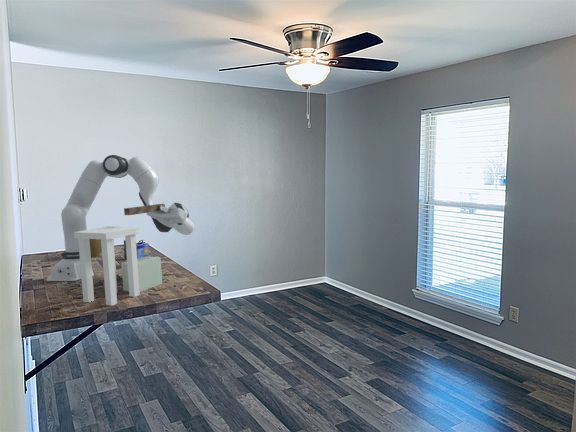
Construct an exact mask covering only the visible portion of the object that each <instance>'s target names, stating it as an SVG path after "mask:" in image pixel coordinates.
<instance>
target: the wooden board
mask: <svg viewBox="0 0 576 432" xmlns="http://www.w3.org/2000/svg"><path fill="white" fill-rule="evenodd" d="M159 206H163V207H166V204H165V203H156V204H154V205H147V206H144V205H141V206H134V207H125V208H123V214H124V216H132V215H133V216H134V215H140V214H147V213H148V212H155V211H161V210H159V209H158V207H159Z"/></svg>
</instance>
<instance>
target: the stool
mask: <svg viewBox="0 0 576 432" xmlns="http://www.w3.org/2000/svg"><path fill="white" fill-rule="evenodd" d="M139 233H140V232H139V227H138V226H137V227H135V226H132V227H131V226H102V227H96V228H91V229H87V230H84V231H78V232H74V238H78V243H79V255H80V267H81V279H80V280H81V289H82V299H83V300H82V302H83V303H87V302H89V303H91V301H92V302H95V294H94V293H95V292H94V282H93V281H94V278H93V276H92V270H93V267H92V266H93V265H92V257H91V253H90V241H89V239H101V246H102V251H101V255H102V269H103V279H104V280H103V281H104V282H103V283H104V293H105V294H104V295H105V297H104V298H105V305H106V306H111V307H112V306H114V305H117V304H118V295H117V293H118V281H117V279H118V278H117V268H116V265H117V264H116V254H115V252H116V251H115V241H114V239H117V238H121V237H125V241H126V255H127V260H126V262H127V269H128V283H129V291H128V294H129V297H132V298H133V297H134V298H135V297H136V298H137V297H139V296H140V293H141V292H139V278H138V264H137V250H136V244H137V239H136V238H137V237H136V235H137V234H139Z"/></svg>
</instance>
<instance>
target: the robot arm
mask: <svg viewBox="0 0 576 432" xmlns="http://www.w3.org/2000/svg"><path fill="white" fill-rule="evenodd" d="M127 175H128V176H130V177H131V178H132V179H133V180H134V182H136V183H137V184H136V185H137V186H138V189H139V192H138V196H139V198H140V201H141V202H142V204H143V206H147V205H155V204H154V202H153V195H154V193H155V192H156V189H158V185H159V176H158V174H157V173H156V172H155V170H154V169H153V168H152V167H151V165H150V164H148V163H147V161H145V160H144V159H143V158H142V157H140V156H133V157H131V158H130V159H127V158H125V157H122V156H121V155H116V154H111V155H107V156H105V158H104V159H103V160H102V161H100V160H92V161H90V162H88V164H87V165H86V167H85V168H84V169H83V171H82V173H81V174H80V176H79V178H78V180H77V182H76V184H75V186H74V187H73V190H72V192H71V195H70V197H69V199H68V200H67V203H66V205H65V207H63V208H62V210H61V212H60V213H61V214H60V215H61V216H60V217H61V223H62V225H61V226H62V230H63V231H62V232H63V237H64V248H65V251H63V252H62V253H61V254H60V257H62V259H61V260H59V261H58V262H57V263H56V264H54V265H53V266H52V268H51V271H50V275H49V276H47V277H46V282H75V281H78V280H79V281H80V280H82V279H81V267H80V255H79V243H78V238H74V232H78V231H84V230H88V227H87V219H86V217H87V215H88V213H89V211H90V209H91V207H92V205H93V203H94V201H95V200H96V197H97V195H98V193H99V191H100V189H101V187H102V185H103V183H104V181H105V179H106V178H107V177H111V178H117V179H118V178H119V179H121V178H124V177H126V176H127ZM158 209H159V210H161V211H155V212H148V213H146V215H147V216H148V217H151V220H152V222H153V225H154V226H155V228H156V229H157V231H159V232H161V233H169V232H170V231H171V230H172V229H174V230H175V231H176V232H177V233H180V234H182V235H185V236H189V235H190V234H193V232H194V231H195V228H196V227H195V223H194V222H193V221H192V220H191V219H190V215H189V210H188V209H187V208H186V206H185V205H183V204H182V203H179V202H173V203H172V204H171V205H170V206H168V207H166V206H165V207H163V206H159V207H158ZM94 276H95V273H94V271H93V269H92V277H94Z"/></svg>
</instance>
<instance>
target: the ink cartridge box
mask: <svg viewBox="0 0 576 432" xmlns="http://www.w3.org/2000/svg"><path fill="white" fill-rule="evenodd" d="M149 249H150V247H149V242H144V239H142V240H138V243H136V250H137V259H138V258H142V257H145V256H148V257H150V251H149Z"/></svg>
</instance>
